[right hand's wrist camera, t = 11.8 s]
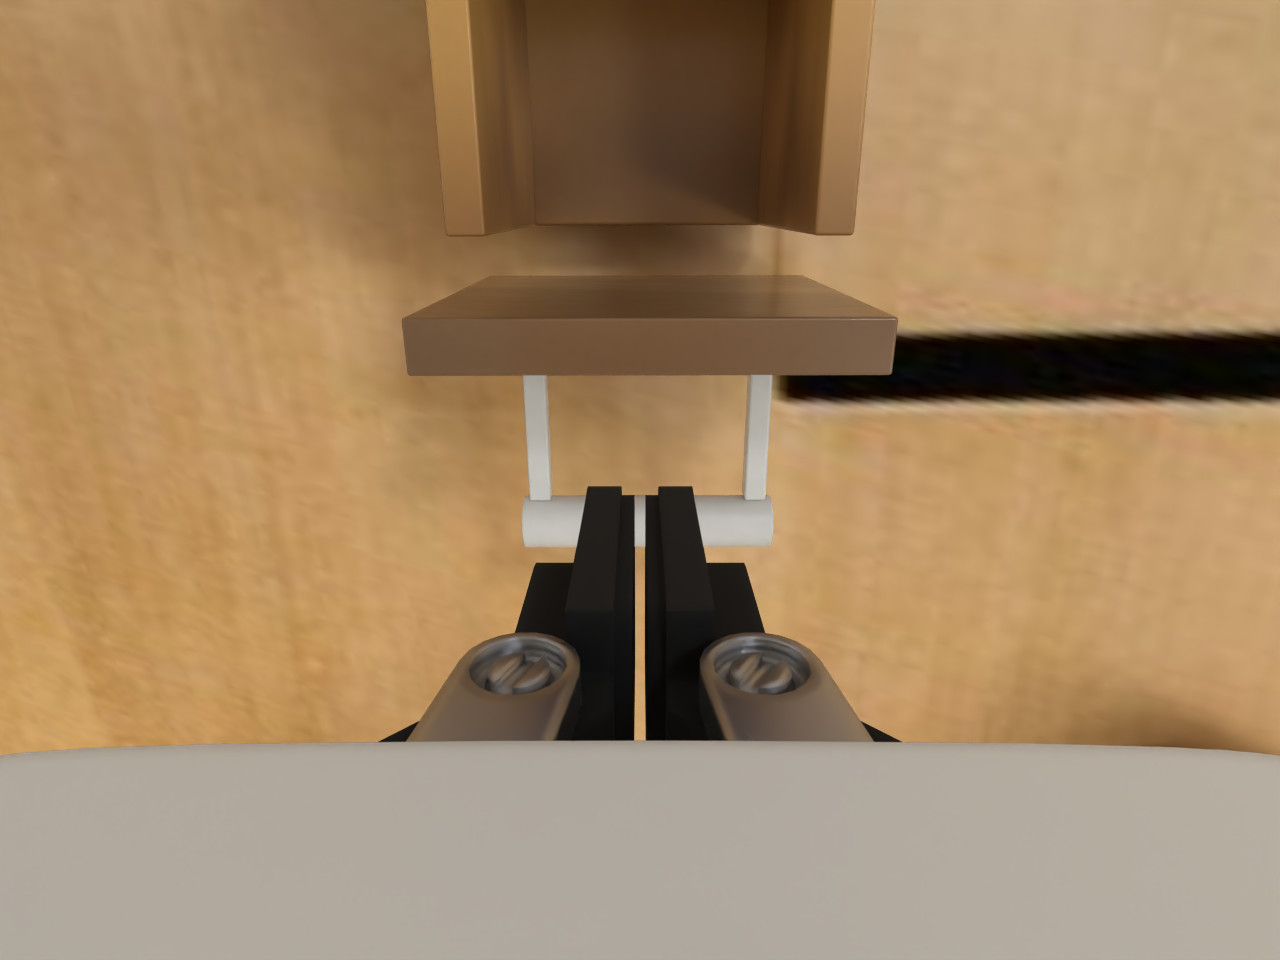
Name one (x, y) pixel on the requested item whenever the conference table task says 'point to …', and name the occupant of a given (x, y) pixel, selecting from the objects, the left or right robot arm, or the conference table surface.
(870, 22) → the drawer
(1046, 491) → the conference table surface
